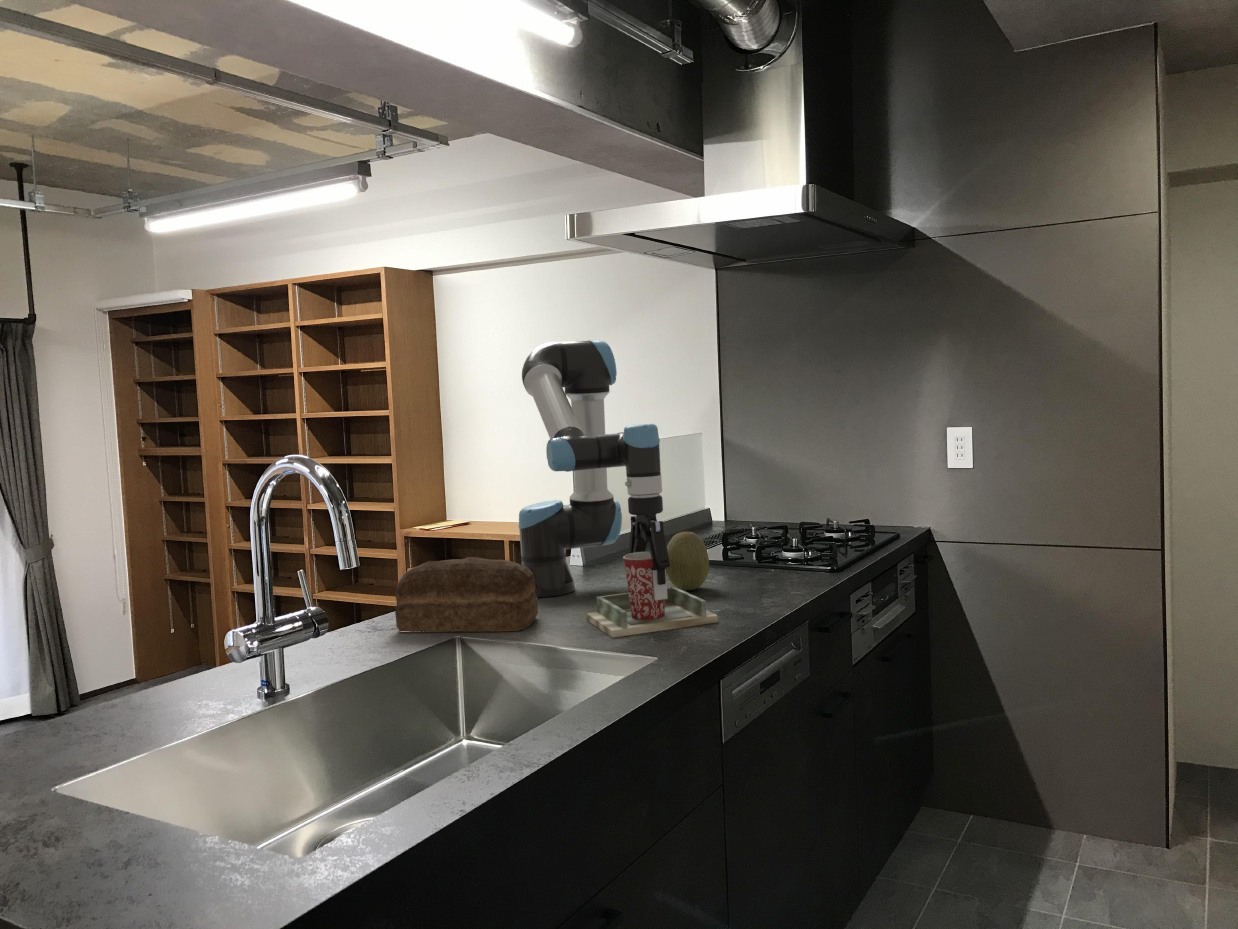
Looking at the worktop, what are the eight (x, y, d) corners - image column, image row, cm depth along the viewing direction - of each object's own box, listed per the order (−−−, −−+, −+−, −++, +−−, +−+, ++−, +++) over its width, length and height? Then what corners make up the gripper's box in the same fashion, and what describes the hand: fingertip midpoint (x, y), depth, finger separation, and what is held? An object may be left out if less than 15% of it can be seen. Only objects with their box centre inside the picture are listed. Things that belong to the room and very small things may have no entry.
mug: (654, 622, 201) (649, 559, 200) (619, 619, 206) (614, 557, 205) (685, 609, 211) (681, 549, 210) (651, 606, 216) (647, 547, 215)
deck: (587, 620, 214) (585, 598, 214) (685, 606, 222) (684, 585, 221) (612, 637, 197) (610, 613, 197) (717, 622, 205) (716, 599, 204)
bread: (416, 619, 227) (411, 553, 226) (545, 617, 220) (540, 549, 219) (389, 635, 212) (384, 565, 211) (526, 633, 206) (521, 561, 205)
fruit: (658, 589, 244) (655, 531, 242) (697, 583, 248) (694, 526, 247) (678, 596, 233) (675, 536, 232) (719, 590, 237) (715, 531, 236)
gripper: (611, 492, 217) (617, 587, 218) (647, 501, 194) (654, 606, 196) (642, 489, 219) (647, 583, 221) (681, 498, 196) (687, 602, 198)
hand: (650, 594), depth 208 cm, fingers open, 11 cm apart
